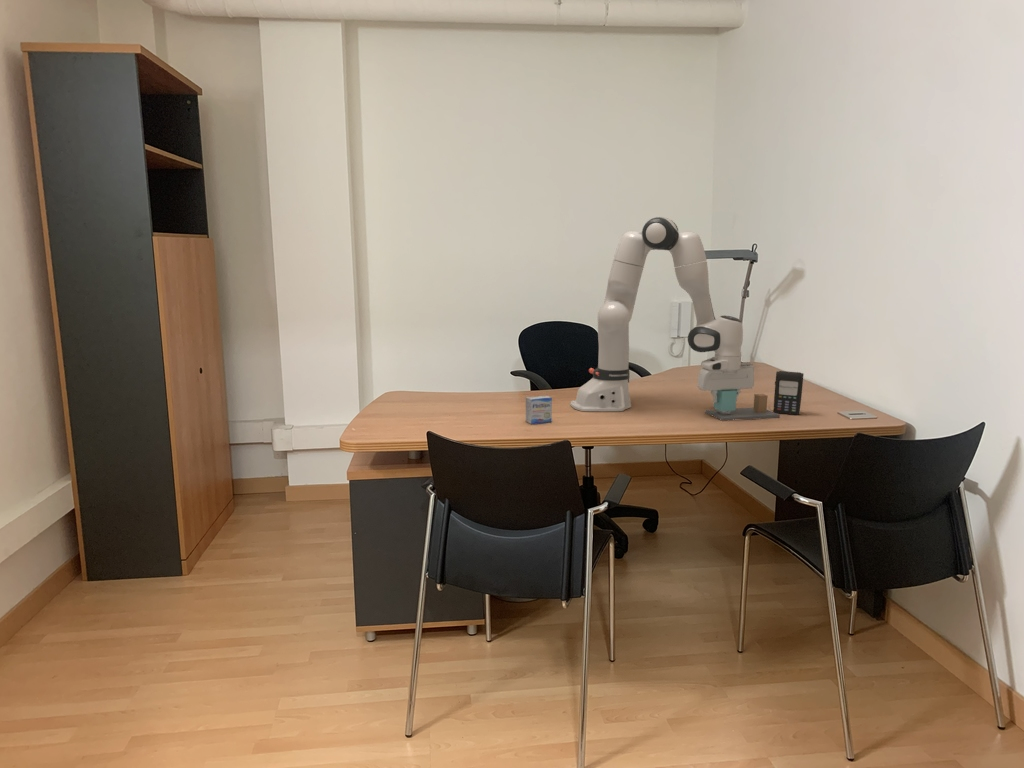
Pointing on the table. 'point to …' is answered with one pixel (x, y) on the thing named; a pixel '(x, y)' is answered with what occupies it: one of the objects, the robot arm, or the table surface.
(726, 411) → the metal post
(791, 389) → the card reader
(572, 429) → the table surface
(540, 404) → the medicine box
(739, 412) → the post board
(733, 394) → the teal block
